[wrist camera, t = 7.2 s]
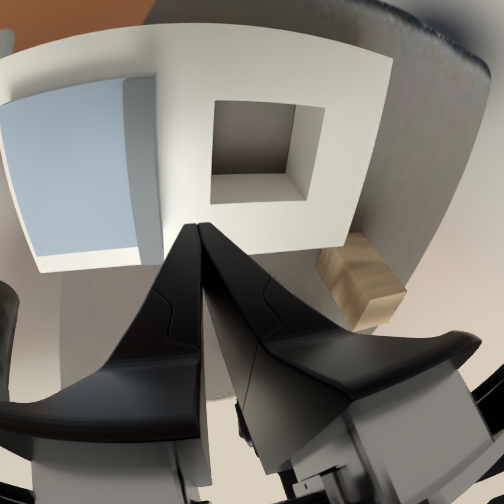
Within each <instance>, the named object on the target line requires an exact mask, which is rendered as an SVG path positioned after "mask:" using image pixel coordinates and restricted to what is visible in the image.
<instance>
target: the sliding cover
mask: <svg viewBox="0 0 504 504" xmlns="http://www.w3.org/2000/svg"><path fill="white" fill-rule="evenodd" d="M0 128H1V134H2V140H3V145H4V150H5V155H6V160H7V164H8V169H9V173H10V177H11V181H12V185H13V188H14V192H15V195H16V199H17V202H18V205H19V209H20V212H21V215H22V218H23V221H24V224H25V227H26V230H27V232H28V235H29V238H30V240H31V243H32V246H33V248H34V251H35V253H36V256H37V257H39V256H48V255H58V254H68V253H78V252H88V251H99V250H109V249H120V248H131V247H138V250H139V255H140V260H141V266H146V265H157V264H163V262H164V240H163V223H162V212H161V199H160V184H159V166H158V141H157V73H151V74H139V75H129V76H121V77H113V78H106V79H100V80H93V81H88V82H82V83H77V84H72V85H67V86H63V87H58V88H54V89H50V90H46V91H42V92H38V93H35V94H31V95H28V96H24V97H21V98H18V99H14V100H11V101H8V102H6V103H4V104H2V105H1V106H0Z"/></svg>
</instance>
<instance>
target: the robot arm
mask: <svg viewBox="0 0 504 504" xmlns="http://www.w3.org/2000/svg"><path fill="white" fill-rule="evenodd" d="M203 291H204V295H205V299H206V302H207V306H208V309H209V312H210V316H211V319H212V322H213V326H214V329H215V332H216V335H217V339H218V342H219V345H220V348H221V351H222V354H223V357H224V360H225V363H226V366H227V370H228V373H229V376H230V378H231V381H232V384H233V387H234V390H235V393H236V396H237V399H236V400H237V403H236V404H235V407H236V412H237V416H238V426H239V435H240V437H241V438H243V439H245V441H246V442H247V443H248V445H249V446H250V447H254V450H255V453H256V455H257V457H259V458H260V461H261V463H262V466H263V468H264V471H265V473H266V475H269V474H273V473H278V474H279V476H280V479H281V482H282V484H283V488H284V490H285V494H286V496H287V499H288V500H285V501H281V502H277V503H274V504H451V503H452V502H453V501H454V500H456V499H457V498H458V497H459V496H460V495H461V494H463V493H464V492H465V491H466V490H467V489H468V488H470V486H472V485H473V484H475V483H477V482H480V481H482V480H485V479H487V478H490V477H492V476H494V475H496V474H499V473H501V472H503V471H504V364H503V365H502V366H501V367H500V368H499V369H498V370H496V371H495V373H493V374H492V375H491V376H490V377H489V378H488V379H487V380H485V381H484V382H483V383H482V384H481V385H480V386H478V387H477V388H476V389H475V390H473V391H472V392H470V390H469V389H468V387H467V385H466V383H465V382H464V380H463V378H462V377H461V375H460V373H459V371H458V369H459V368H460V367H461V366H462V365H463V364H464V363H465V362H466V361H467V360H468V359H469V358H470V357H471V356H472V355H473V354H474V353H475V351H476V350H477V349H478V348H479V346H480V345H481V343H482V340H481V339H480V338H478V337H477V336H475V335H473V334H471V333H468V332H463V331H450V332H448V333H446V334H443V335H441V336H437V337H432V338H405V337H390V336H375V335H363V334H357V333H353V332H350V331H348V330H346V329H344V328H342V327H340V326H339V325H337V324H335V323H334V322H333V321H331V320H330V319H328V318H327V317H325V316H324V315H322V314H321V313H319V312H318V311H317V310H315V309H314V308H312V307H311V306H309V305H308V304H306V303H305V302H304V301H302V300H301V299H300V298H298V297H297V296H295V295H294V294H293V293H291V292H290V291H289V290H288V289H287V288H285V287H284V286H283V285H282V284H280V283H279V282H278V281H277V280H276V279H275V278H274V277H272V276H271V275H270V274H269V273H268V272H267V271H265V270H264V269H263V268H262V267H261V266H260V265H259V264H257V263H256V262H255V261H254V260H253V259H252V258H251V257H249V256H248V255H247V254H246V253H245V252H244V251H243V250H241V249H240V248H239V247H238V246H237V245H236V244H235V243H233V242H232V241H231V240H230V239H229V238H228V237H227V236H225V235H224V234H223V233H222V232H221V231H220V230H219V229H217V228H216V227H215V226H214V225H213V224H212V223H210V222H202V223H198V224H196V223H188V224H184V225H183V226H182V228H181V230H180V232H179V234H178V236H177V238H176V239H175V241H174V243H173V245H172V247H171V249H170V251H169V253H168V255H167V257H166V258H165V260H164V262H163V264H162V266H161V268H160V270H159V272H158V274H157V276H156V278H155V280H154V282H153V284H152V286H151V289H150V290H149V292H148V294H147V296H146V298H145V300H144V302H143V304H142V306H141V308H140V310H139V311H138V313H137V315H136V316H135V318H134V319H133V321H132V323H131V324H130V326H129V327H128V329H127V330H126V332H125V334H124V335H123V337H122V338H121V340H120V341H119V343H118V344H117V346H116V347H115V349H114V351H113V352H112V354H111V355H110V357H109V358H108V360H107V361H106V362H105V364H104V365H103V366H102V367H101V368H100V369H99V370H97V371H96V372H95V373H93V374H91V375H89V376H87V377H86V378H84V379H82V380H80V381H78V382H76V383H74V384H73V385H71V386H69V387H67V388H65V389H63V390H61V391H59V392H58V393H56V394H54V395H52V396H50V397H48V398H46V399H43V400H40V401H37V402H32V403H16V402H8V401H2V402H0V446H1V447H3V448H5V449H7V450H9V451H11V452H12V453H14V454H16V455H19V456H20V457H23V458H24V459H27V460H29V461H31V464H32V483H33V491H31V490H28V489H24V488H20V487H17V486H13V485H10V484H6V483H3V482H0V504H212V503H211V502H210V501H201V499H200V496H199V492H198V487H203V486H211V485H212V479H211V467H210V456H209V443H208V430H207V415H206V414H207V413H206V394H205V372H204V341H203ZM487 504H504V495H501V496H498V497H496V498H493V499H492V500H490V501H489V502H488V503H487Z"/></svg>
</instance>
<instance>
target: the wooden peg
mask: <svg viewBox="0 0 504 504" xmlns="http://www.w3.org/2000/svg"><path fill="white" fill-rule="evenodd" d="M316 269H317V270H318V272H319V274H320V276H321V277H322V279H323V281H324V283H325V284H326V286H327V288H328V289H329V291H330V293H331V295H332V297H333V298H334V300H335V302H336V304H337V305H338V307H339V309H340V311H341V313H342V314H343V316H344V318H345V320H346V322H347V323H348V325H349V327H350V329H351V331H352V332H355V331H359V330H362V329H366V328H370V327H373V326H377V325H381V324H384V323H388V322H389V320H390V319H391V317H392V316H393V314H394V312H395V311H396V309H397V308H398V306H399V304H400V303H401V301H402V300H403V298H404V296H405V295H406V293H407V290H406V289H405V287H404V286H403V285H402V283H401V282H400V281H399V279H398V278H397V277H396V275H395V274H394V273H393V271H392V270H391V269H390V268H389V266H388V265H387V264H386V262H385V261H384V260H383V259H382V257H381V256H380V255H379V254H378V252H377V251H376V250H375V249H374V247H373V246H372V245H371V244H370V242H369V241H368V240H367V239H366V238H365V236H364V235H363V234H362V233H361V232H360V233H348V234H347V237H346V240H345V243H344V246H338V247H327V248H322V250H321V253H320V256H319V260H318V263H317V266H316Z"/></svg>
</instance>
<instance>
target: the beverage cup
mask: <svg viewBox="0 0 504 504" xmlns="http://www.w3.org/2000/svg"><path fill="white" fill-rule="evenodd" d="M19 303H20V301H19V297H18V295H17V294H16V292H15V291H14V290H13V289H12V288H11V287H10V286H9V285H7V284H6V283H4V282H2V281H0V402H2V401H8V402H10V401H9V390H8V384H9V372H10V363H11V354H12V347H13V340H14V334H15V328H16V322H17V315H18V308H19Z"/></svg>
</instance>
